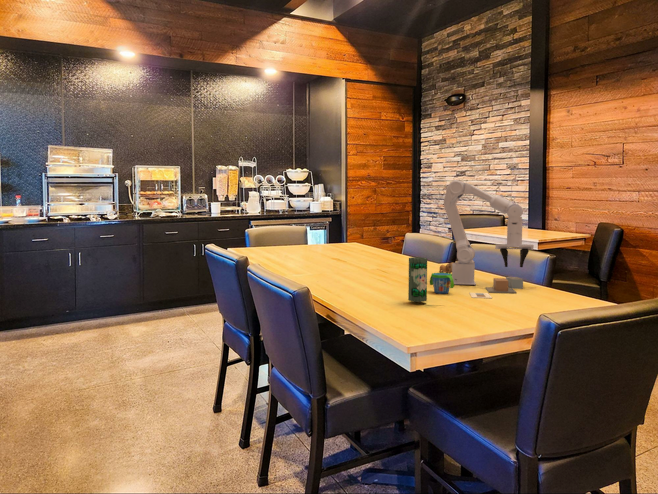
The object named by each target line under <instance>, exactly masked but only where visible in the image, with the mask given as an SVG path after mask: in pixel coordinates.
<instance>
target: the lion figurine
mask: <svg viewBox="0 0 658 494" xmlns="http://www.w3.org/2000/svg"><path fill="white" fill-rule="evenodd" d="M452 263H454V262H449V263H447V264H446V265H444V264H441V265H439V272H438V273H450V274H452Z"/></svg>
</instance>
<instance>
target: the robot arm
mask: <svg viewBox="0 0 658 494" xmlns="http://www.w3.org/2000/svg"><path fill="white" fill-rule="evenodd" d="M464 195H473V196H474V197H477V198H479V199H481V200H484V201H486V202H488V203H489V206H490V208H492V209H494V210H496V211H498V212H500V213H502V214H504V215H507V223H506V224H507V225H506V226H507V228H506V231H507V232H506V243H497V244H495V246H494V247H495V250H499V252H500V254H501V256H502V258H503V263H504V267H505V268H508V266H509V265H508V261H509V260H508V257H509V255H508V254H509V251H508V250H519V254H520V259H519V267H520V268H523V267H524V263H525V260H526V257H527V255H528V254H529V252H530V250H531V251H532V250H533V251H534V244H524V243H523V214H524V209H523V207H522V206H521V204H519V203H515V201H514V200H509V199H508V198H505V196H504V195H503V194H496V195H492V194H490V193H489V192H488V191H485V190H484V189H481V188H479V187H477V186H476V185H473V184H471V183H468V182H464V181H462V180H459V179H454V180H451V181H450V182H449V184H448V185H447V187H446V189H445V195H444V198H443V207H444V209H445V212H446V217H447V218H448V222H449V225H450V228H451V231H452V235H453V237H454V240H455V247H456V251H457V252H456V258H457V261H456V262H453V263H452V273H451V274H452V278H453V281H454V285H468V286H469V285H471V286H473V285H474V286H476V285H477V283H476V281H475V272H476V271H475V267H476V266H475V265H476V263H475V261H474V258H475V257H476V251H475V249H474V248H473V246H471V243H470V241H469V240H468V237H467V235H466V231H465V228H464V225H463V222H462V218H461V216H460V212H459V210H458V207H457V203H458V202H459V200H460V198H461V197H463V196H464Z"/></svg>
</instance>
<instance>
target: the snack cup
mask: <svg viewBox="0 0 658 494" xmlns="http://www.w3.org/2000/svg"><path fill="white" fill-rule="evenodd" d="M429 285H431V286H433V291H434V294H441V295H442V294H449V291H450V289H453V288H454V286H455V284H454V281H453V278H452V273H451V274H450V273H446V272H441V273H440V272H434V273H433V272H432V273H431V275H430V279H429Z"/></svg>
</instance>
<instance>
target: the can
mask: <svg viewBox="0 0 658 494" xmlns="http://www.w3.org/2000/svg"><path fill="white" fill-rule="evenodd" d="M407 293H408V296H407V297H408V301H410V302H415V303H423V302H424V303H425V302H427V299H428V298H427V297H428V258H427V257H419V256H417V257H416V256H415V257H414V256H413V257H408V291H407Z"/></svg>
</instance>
